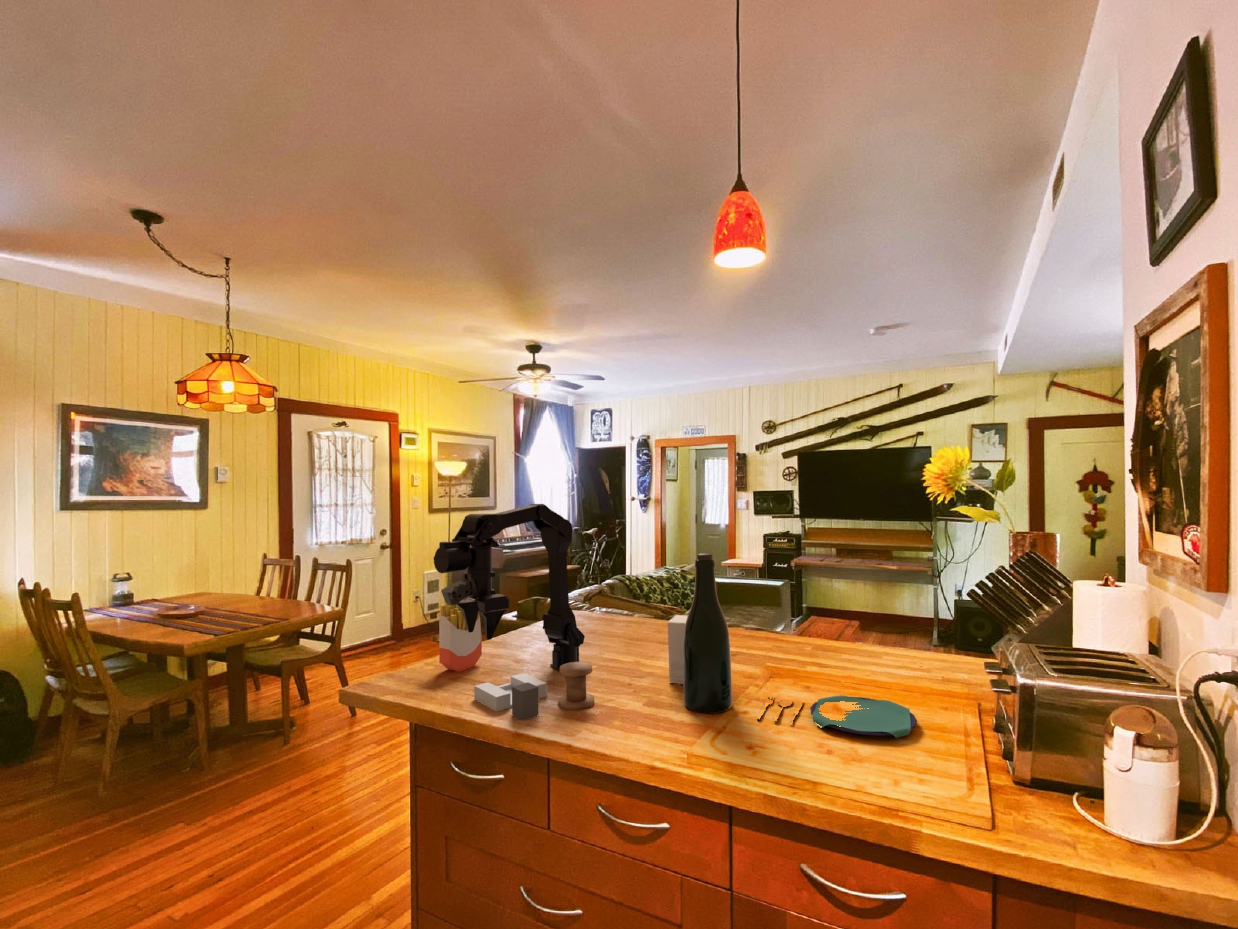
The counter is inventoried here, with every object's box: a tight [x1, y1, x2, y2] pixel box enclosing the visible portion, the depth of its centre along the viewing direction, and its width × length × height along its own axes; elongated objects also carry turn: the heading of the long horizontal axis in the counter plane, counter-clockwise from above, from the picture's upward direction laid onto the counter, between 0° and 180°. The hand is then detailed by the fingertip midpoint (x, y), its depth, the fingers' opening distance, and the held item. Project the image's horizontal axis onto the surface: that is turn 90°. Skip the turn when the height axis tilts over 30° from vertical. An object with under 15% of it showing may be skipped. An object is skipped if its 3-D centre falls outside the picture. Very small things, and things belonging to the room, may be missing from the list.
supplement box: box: [667, 614, 688, 685], centre depth 144 cm, size 9×9×15 cm
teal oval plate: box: [810, 695, 918, 739], centre depth 119 cm, size 20×30×2 cm, turn 64°
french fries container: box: [438, 604, 483, 673], centre depth 156 cm, size 5×11×18 cm, turn 145°
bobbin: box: [557, 661, 595, 711], centre depth 129 cm, size 8×8×8 cm
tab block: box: [511, 682, 540, 722], centre depth 122 cm, size 4×4×6 cm
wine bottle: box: [683, 552, 733, 714], centre depth 127 cm, size 10×10×33 cm
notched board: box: [473, 672, 548, 713], centre depth 133 cm, size 13×10×3 cm
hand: (479, 635), depth 134 cm, fingers open, 9 cm apart
